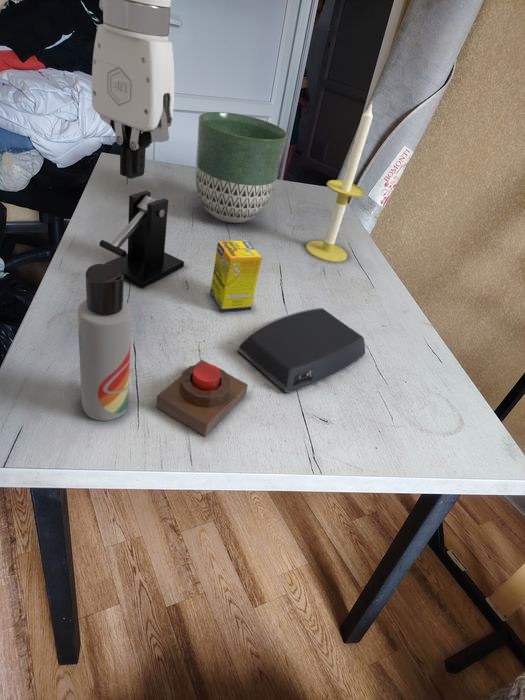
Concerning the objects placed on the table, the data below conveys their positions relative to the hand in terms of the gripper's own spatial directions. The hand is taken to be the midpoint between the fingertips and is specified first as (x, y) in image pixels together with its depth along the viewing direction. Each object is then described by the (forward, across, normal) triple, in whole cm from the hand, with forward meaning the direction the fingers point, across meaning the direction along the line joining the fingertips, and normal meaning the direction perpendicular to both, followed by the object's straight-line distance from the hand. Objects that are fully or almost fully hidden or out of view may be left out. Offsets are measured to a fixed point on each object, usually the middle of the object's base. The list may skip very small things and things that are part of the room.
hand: (132, 175), depth 67 cm
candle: (+22, +16, +49) cm, 57 cm away
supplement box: (+22, +12, +13) cm, 28 cm away
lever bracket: (+22, -6, +12) cm, 26 cm away
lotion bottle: (+22, +13, -20) cm, 32 cm away
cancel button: (+18, +23, -11) cm, 31 cm away
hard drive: (+22, +29, +9) cm, 37 cm away
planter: (+22, -9, +46) cm, 52 cm away
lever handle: (+13, -6, +8) cm, 17 cm away
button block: (+22, +22, -11) cm, 33 cm away
